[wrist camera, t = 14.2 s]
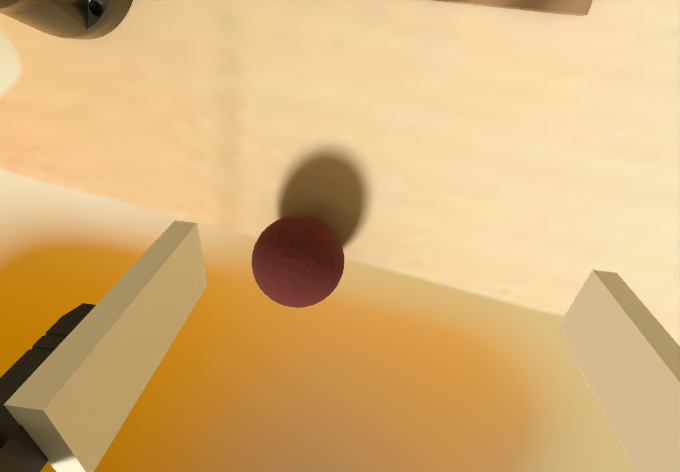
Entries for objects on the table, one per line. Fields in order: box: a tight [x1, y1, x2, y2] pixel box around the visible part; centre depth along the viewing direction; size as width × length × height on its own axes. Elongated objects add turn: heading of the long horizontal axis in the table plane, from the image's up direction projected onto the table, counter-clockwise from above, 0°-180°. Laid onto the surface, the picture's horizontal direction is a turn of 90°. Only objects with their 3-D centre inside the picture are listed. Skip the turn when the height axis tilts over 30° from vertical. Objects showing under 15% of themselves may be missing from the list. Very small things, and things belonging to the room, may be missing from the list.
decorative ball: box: [252, 215, 344, 308], centre depth 39 cm, size 10×10×10 cm
